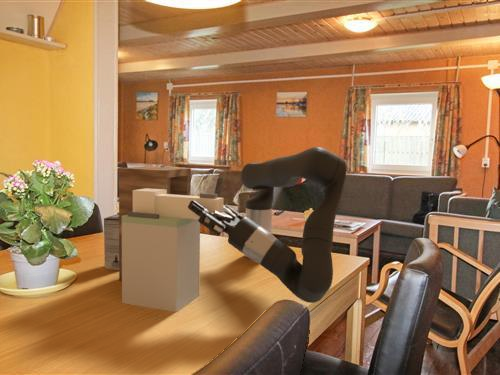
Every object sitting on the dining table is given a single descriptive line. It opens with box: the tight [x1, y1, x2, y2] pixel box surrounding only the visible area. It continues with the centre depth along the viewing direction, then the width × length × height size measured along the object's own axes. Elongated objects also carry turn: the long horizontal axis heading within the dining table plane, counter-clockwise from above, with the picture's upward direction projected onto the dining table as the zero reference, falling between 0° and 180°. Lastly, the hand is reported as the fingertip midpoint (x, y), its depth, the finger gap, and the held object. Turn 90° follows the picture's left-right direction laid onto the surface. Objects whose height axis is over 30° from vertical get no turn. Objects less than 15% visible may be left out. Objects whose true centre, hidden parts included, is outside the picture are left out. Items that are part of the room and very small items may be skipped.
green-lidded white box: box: [121, 212, 201, 313], centre depth 108 cm, size 12×15×22 cm
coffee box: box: [103, 213, 119, 271], centre depth 137 cm, size 9×6×16 cm
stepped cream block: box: [133, 188, 225, 220], centre depth 105 cm, size 6×22×6 cm, turn 71°
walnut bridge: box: [118, 166, 192, 282], centre depth 125 cm, size 14×15×32 cm
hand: (198, 201), depth 103 cm, fingers open, 8 cm apart
